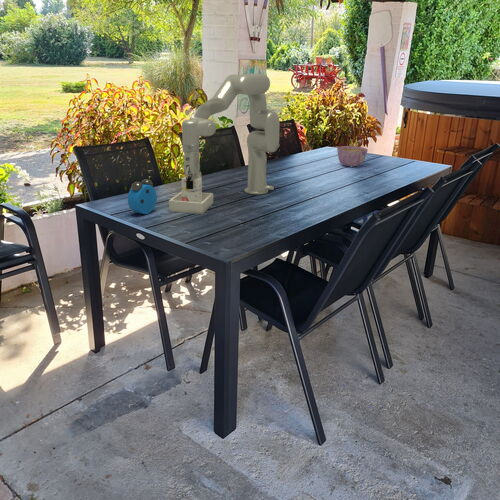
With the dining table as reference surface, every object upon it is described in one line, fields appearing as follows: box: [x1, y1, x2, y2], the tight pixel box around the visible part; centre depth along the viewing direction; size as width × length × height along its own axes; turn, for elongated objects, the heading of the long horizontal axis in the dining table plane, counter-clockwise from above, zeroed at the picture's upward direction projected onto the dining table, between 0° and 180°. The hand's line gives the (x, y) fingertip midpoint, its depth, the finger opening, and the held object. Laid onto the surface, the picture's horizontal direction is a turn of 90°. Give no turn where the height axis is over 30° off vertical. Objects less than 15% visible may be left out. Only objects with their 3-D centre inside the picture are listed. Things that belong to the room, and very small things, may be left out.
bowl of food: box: [336, 145, 369, 167], centre depth 331 cm, size 20×20×12 cm
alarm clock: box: [127, 178, 158, 215], centre depth 222 cm, size 13×6×15 cm, turn 151°
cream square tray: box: [168, 190, 214, 215], centre depth 234 cm, size 16×18×5 cm
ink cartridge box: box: [181, 171, 203, 203], centre depth 232 cm, size 9×5×15 cm, turn 71°
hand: (191, 186), depth 232 cm, fingers closed on ink cartridge box, 5 cm apart
